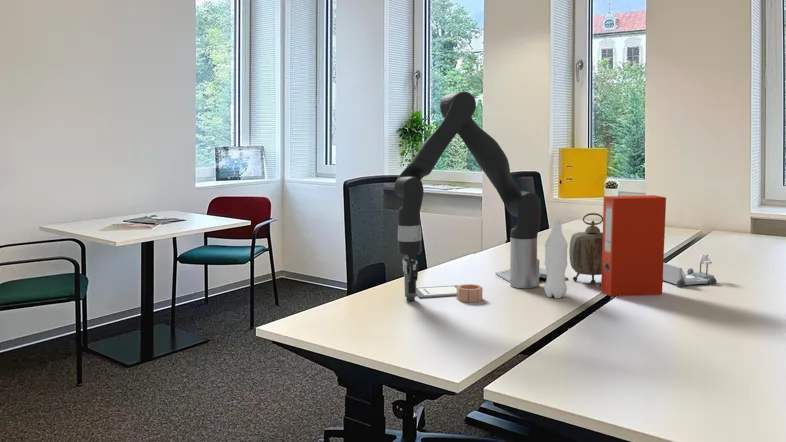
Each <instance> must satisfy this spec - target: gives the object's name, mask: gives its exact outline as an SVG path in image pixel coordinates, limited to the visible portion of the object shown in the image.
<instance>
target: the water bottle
mask: <svg viewBox="0 0 786 442" xmlns="http://www.w3.org/2000/svg"><path fill="white" fill-rule="evenodd" d="M562 226H563V225H562V220H561V219H552V220H551V226H550V228H551V230H550V233H549V235H548V237H547V239H546V241H545V244H544V249H545V250H544V266H545V269H546V270H547V278H546V280H545V284H544V285H543V287H544V293H545V295H546V297H548V298H552V297H554V298H555V299H560V298H565V296H566V294H567V292H568V291H567V290H568V287H567V284H566V280H565V277H566V269H567V268H568V247H569V246H568V241H567V240H566V238H565V235H564V234H563V230H562V229H563V227H562Z"/></svg>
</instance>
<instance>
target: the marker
mask: <svg viewBox="0 0 786 442" xmlns="http://www.w3.org/2000/svg"><path fill="white" fill-rule="evenodd" d="M408 271H409V270H408ZM409 272H410V271H409ZM403 277H404V278H403V279H404V280H403V281H404V282H403V283H404V298H405V299H406V301H408V302H413V301H416V298H417V295H416V292H415V293H409V292H408V275H407V274H406V266H405V263H404V275H403ZM412 277H414V275H412ZM416 288H417V281H415V289H416Z"/></svg>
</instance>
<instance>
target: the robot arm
mask: <svg viewBox="0 0 786 442" xmlns="http://www.w3.org/2000/svg"><path fill="white" fill-rule="evenodd" d="M476 107H477V102H476V98H475V97H474V95H472V94H471V93H470V92H468V91H457V92H452V93H448V94H445V95H444V96H443V97H442V98H441V99H440V103H439V110H440V113H441V115H442V117H443V118H444V119H443V120H442V122H441V124H440V125H439V126H438V127H437V128H436V130H435V131H433V132H432V133H431V134H430V135H429V137H428V138H427V139H426V140H425V141H424V142H423V143H422V145H421V146H420V148H419V149H418V151H417V153H416V154H415V155H414V157H413V159H412V161H411V162H410V163H409V164H408V165H407V166H406V168H404V170H402V172H401V173H400V174H399V176H398V177H397V178H396V180H395V182H394V189H393V190H394V192H395V194H396V195H397V196H398V197H399V198H403V199H402V206H401V207H399V208H398V212H397V213H398V214H397V218H398V219H397V220H398V221H397V224H398V227H397V253H398V254H399V255H402V256H403V257H402V258H401V261H402V263H401V264H402V272H403V273H402V275H403V276H404V263H405V266H406V274H407V275H408V292H409V293H415V292H416V289H415V281H416V282H417V281H418V280H419V279H418V278H419V277H418V275H419V263H418V259H416V255H421V253H422V229H421V208H422V205H423V198H424V192H425V191H424V185H423V182H422V179H423V178H424V177H427V176H429V175H430V174H431V173H432V172H433V169H434V168H435V166H436V164H437V163H438V161H439V160H440V158H441V157H442V155H443V153H444V152H445V151H446V149H447V147H448V146H449V145H450V143H451V142H452V141H453V139H454V138H455V137H456V135H458V136H459V137H460V139H461V140H462V142H463V143H464V145H465V146H466V148H467V149H468V151H469V152H470V154H471V155H472V156H473V158H474V160H475V162H477V164H478V165H479V166H478V167H480V168H481V170H482V171H483V173H484V175H486V177H487V178H488V179H489V181H490V183H491V184H492V185H493V187H494V189H496V192H497V193H498V195H499V197H500V199H501V201H502V203H503V205H504V206H505V208H506V210H507V212H508V213H509V214H510V215H511V216H514V217H516V218H517V220H516V225H515V227H513V228H511V230H510V238H509V239H510V249H509V250H510V252H509V253H510V255H509V257H510V258H509V259H510V260H509V261H510V264H509V265H510V266H509V269H510V284H509V285H510V286H511V287H513V288H515V289H517V288H518V289H533V288H537V287H538V288H539V287H540V277H539V268H540V259H539V258H538V234H539V232H540V231H539V230H540V228H541V215H542V205H541V204H542V203H541V199H540V197H539V196H538V194H536V193H535V192H531V191H526V190H525V191H523V190H522V189H521V188H520V187H519V185H518V184H517V183H516V182H515V180H514V179H513V177H512V174H511V169H510V163H509V159H508V157H507V155H506V153H505V152H504V150H503V149H502V147H501V146H500V143H498V142H497V141H496V139H494V138H493V137H492V136H491V135H489V133H488V132H486V130H484V129H482V127H480V126H479V125H478V124H477V123H476V121H475V120H474V119H473V118H472V116H473V115H474V113H475V111H476V109H477V108H476ZM408 270H409V271H410V272H409V271H408ZM412 275H414V277H412Z"/></svg>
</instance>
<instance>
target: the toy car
mask: <svg viewBox="0 0 786 442" xmlns="http://www.w3.org/2000/svg"><path fill="white" fill-rule="evenodd" d="M712 262H713V261H711V259H710V258H709V255H708V254H707V255H705V254H702V253H701V254H700V255H699V272H695V271H694V269H693V268H688V269H687V271H686V274H685V271H684V269H683V268H682V267H680V266H677V265H672V264H670V263H666V262H663V281H664V282H668V283H671V284H674V285H676V287H677V288H685V286H687V285H690V286H691V285H700V284H703V285H704V284H707V285H709V286H716V285H717V278H715V275H714V274H710V273H708V271H709V270H708V268H709V265H711V264H712ZM702 265H706V270H705V271H706V272H704V271H702Z"/></svg>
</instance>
